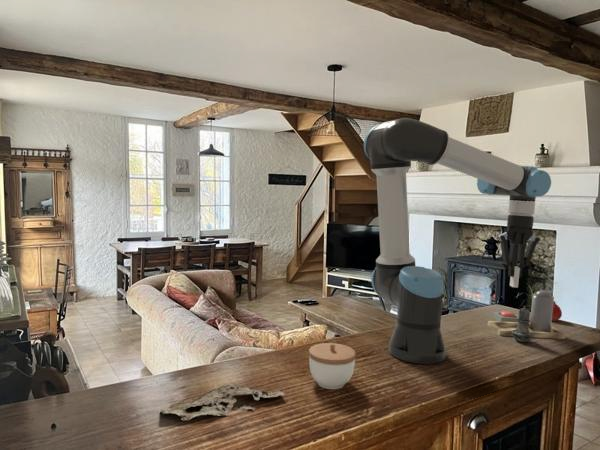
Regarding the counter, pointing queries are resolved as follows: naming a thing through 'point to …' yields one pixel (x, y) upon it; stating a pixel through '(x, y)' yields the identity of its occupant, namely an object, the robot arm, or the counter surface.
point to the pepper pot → (541, 311)
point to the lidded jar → (331, 364)
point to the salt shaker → (523, 326)
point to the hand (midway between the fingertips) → (513, 286)
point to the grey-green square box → (505, 319)
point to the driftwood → (218, 402)
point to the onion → (556, 312)
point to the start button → (507, 314)
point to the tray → (507, 328)
